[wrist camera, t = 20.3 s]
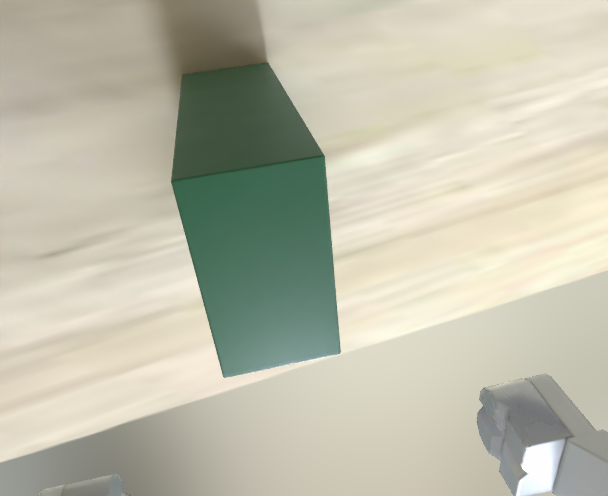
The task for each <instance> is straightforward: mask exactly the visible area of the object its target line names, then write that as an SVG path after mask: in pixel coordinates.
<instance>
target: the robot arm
mask: <svg viewBox="0 0 608 496" xmlns="http://www.w3.org/2000/svg"><path fill="white" fill-rule="evenodd" d="M479 399H480V401H481V403H482V404H483V407H482V408H481V409H480V410H479V412H478V416H477V425H478V429H479V434H480V436H481V439H482V441H483V444H484V445H485V447H486V449H487V451H488V452H489V454H491V455H492V456H494V457H496V458H497V459H499V460H500V461H501V462H500V470H499V472H500V473H501V475H502V476H503V478H504V480H505V481H506V484H507V485H508V487H509V489H510V490H511V492H512V494H513V495H514V496H529V495H534V494H539V493H542V492H547V491H551V490H553V492H552V493H553V494H555V495H556V496H608V432H607V431H605V430H599V431H596V429H595V428H594V427H593V426H592V425H591V423H590V422H589V421H588V420H587V419H586V418H585V416H584V415H583V414H582V413H581V412H580V410H579V409H578V408H577V407H576V406H575V405H574V403H573V402H572V401H571V400H570V398H569V397H568V396H567V395H566V394H565V393H564V391H563V390H562V389H561V388H560V387H559V385H558V384H557V383H556V382H555V381H554V380H553V378H552V377H551V376H549V375H547V374H540V375H537V376H532V377H529V378H525V379H522V378H521V379H518V380H514V381H509V382H505V383H502V384H497V385H494V386H489V387H485V388H483V389H482V390H481V392H480V398H479ZM122 489H123V481H122V480H121V478H120V477H119V475H118V474H114V475H109V476H104V477H100V478H95V479H90V480H86V481H81V482H76V483H71V484H66V485H62V486H57V487H53V488H48V489H45V490H41V492H40V494H39V495H38V496H130V495H129V494H127V493H124V492H122Z"/></svg>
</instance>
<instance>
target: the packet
mask: <svg viewBox="0 0 608 496" xmlns="http://www.w3.org/2000/svg"><path fill="white" fill-rule="evenodd" d="M171 183H172V187H173V190H174V194H175V198H176V202H177V205H178V209H179V213H180V217H181V220H182V224H183V228H184V232H185V235H186V239H187V243H188V246H189V250H190V254H191V258H192V261H193V265H194V269H195V273H196V276H197V280H198V284H199V288H200V291H201V295H202V299H203V303H204V306H205V310H206V314H207V318H208V321H209V325H210V329H211V333H212V336H213V340H214V344H215V347H216V351H217V355H218V359H219V362H220V366H221V370H222V374H223V377H224V378H227V377H232V376H236V375H241V374H246V373H251V372H256V371H260V370H265V369H270V368H275V367H279V366H284V365H289V364H294V363H299V362H303V361H308V360H313V359H318V358H322V357H327V356H332V355H337V354H340V340H339V327H338V315H337V303H336V290H335V278H334V266H333V253H332V241H331V229H330V216H329V204H328V192H327V179H326V167H325V156H324V154H323V153H322V151H321V149H320V148H319V146H318V144H317V143H316V141H315V139H314V138H313V136H312V134H311V133H310V131H309V129H308V128H307V126H306V125H305V123H304V121H303V120H302V118H301V116H300V115H299V113H298V111H297V110H296V108H295V106H294V105H293V103H292V101H291V100H290V98H289V96H288V95H287V93H286V91H285V90H284V88H283V87H282V85H281V83H280V82H279V80H278V78H277V77H276V75H275V73H274V72H273V70H272V68H271V67H270V65H269V63H262V64H255V65H248V66H241V67H234V68H227V69H220V70H213V71H206V72H199V73H192V74H186V75H182V82H181V92H180V101H179V111H178V121H177V130H176V140H175V150H174V159H173V169H172V179H171Z"/></svg>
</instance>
